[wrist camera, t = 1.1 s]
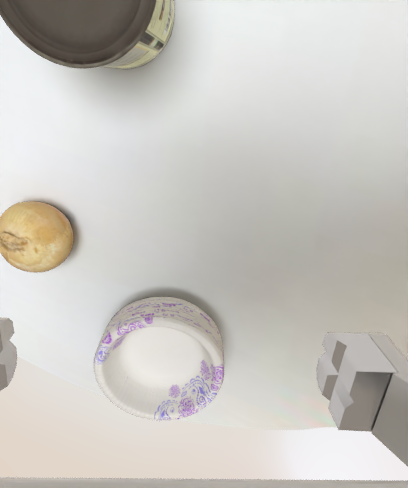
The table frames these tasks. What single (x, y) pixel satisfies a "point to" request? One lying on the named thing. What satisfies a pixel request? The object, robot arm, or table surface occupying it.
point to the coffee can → (92, 30)
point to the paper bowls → (160, 359)
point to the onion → (35, 236)
